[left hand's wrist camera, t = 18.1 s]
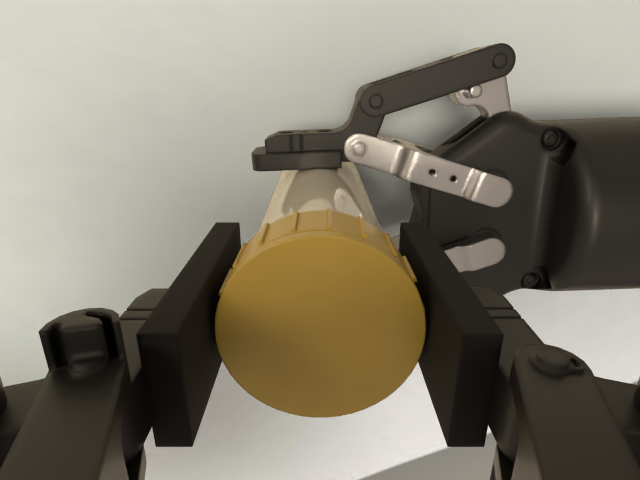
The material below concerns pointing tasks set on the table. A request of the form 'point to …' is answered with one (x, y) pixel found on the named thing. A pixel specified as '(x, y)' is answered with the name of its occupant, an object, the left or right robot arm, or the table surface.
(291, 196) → the jar
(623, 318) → the table surface
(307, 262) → the lid
